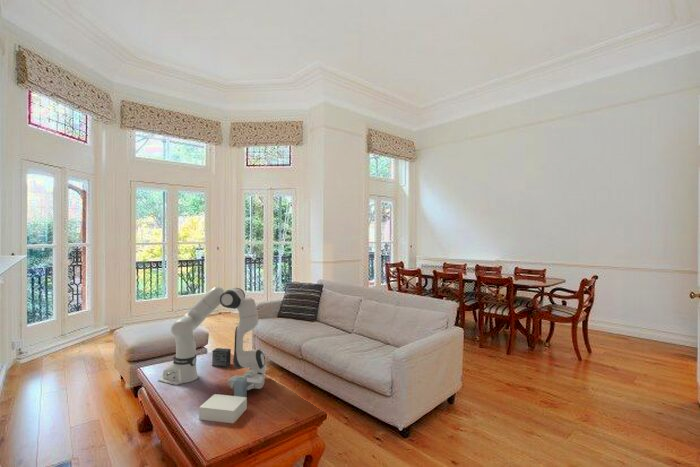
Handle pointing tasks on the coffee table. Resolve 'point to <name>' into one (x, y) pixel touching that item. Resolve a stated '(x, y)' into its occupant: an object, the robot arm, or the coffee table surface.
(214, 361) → the small box
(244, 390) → the slate block
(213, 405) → the base
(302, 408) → the coffee table surface
